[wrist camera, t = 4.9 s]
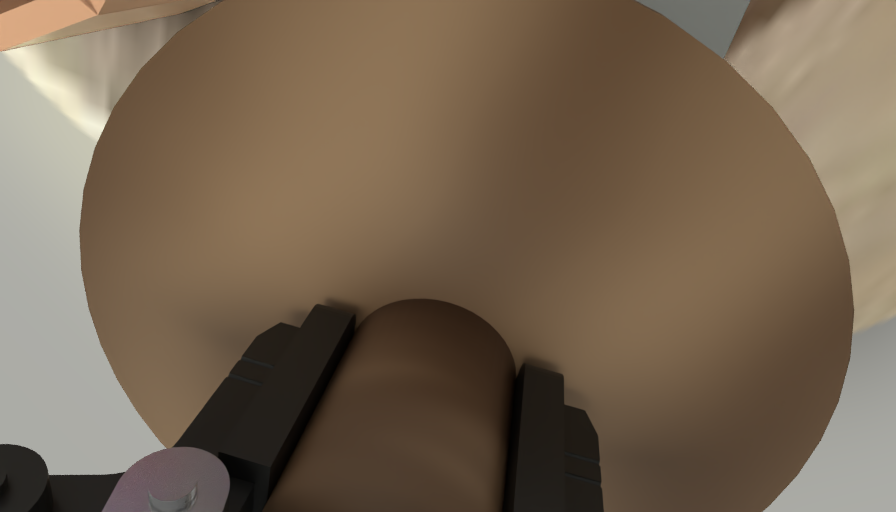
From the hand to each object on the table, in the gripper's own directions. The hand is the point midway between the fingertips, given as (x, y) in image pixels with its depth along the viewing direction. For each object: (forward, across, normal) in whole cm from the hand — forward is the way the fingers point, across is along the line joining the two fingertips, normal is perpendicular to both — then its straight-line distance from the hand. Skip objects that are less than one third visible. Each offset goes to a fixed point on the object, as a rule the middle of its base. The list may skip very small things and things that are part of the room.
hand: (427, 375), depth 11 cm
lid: (+1, 0, 0) cm, 1 cm away
